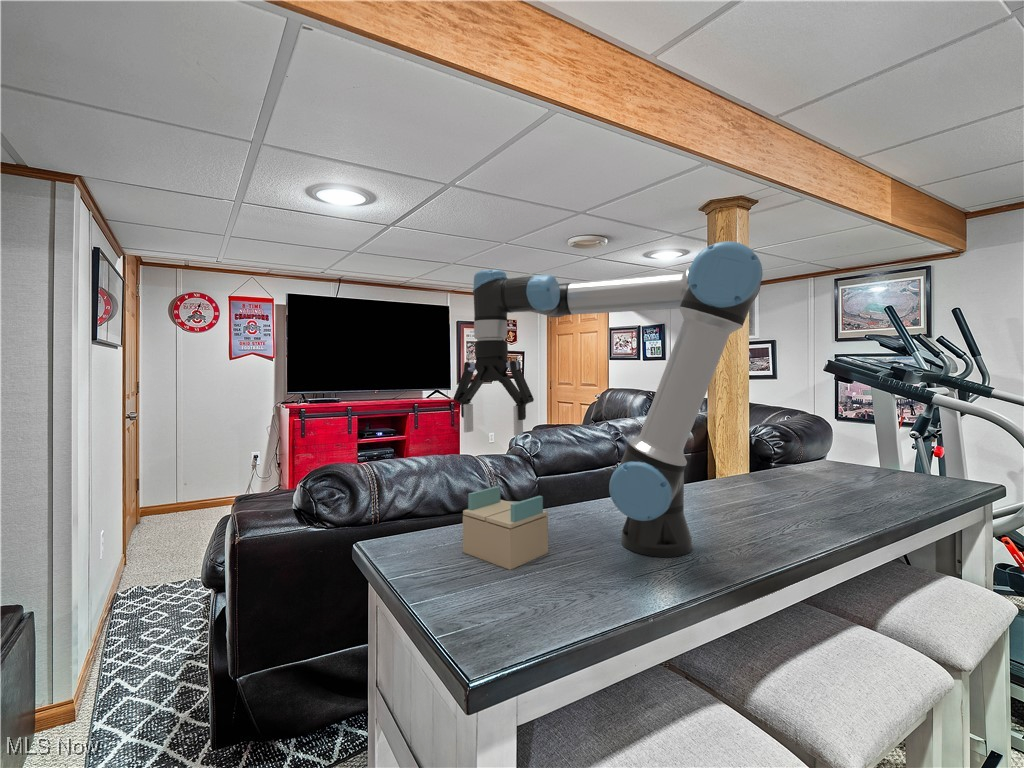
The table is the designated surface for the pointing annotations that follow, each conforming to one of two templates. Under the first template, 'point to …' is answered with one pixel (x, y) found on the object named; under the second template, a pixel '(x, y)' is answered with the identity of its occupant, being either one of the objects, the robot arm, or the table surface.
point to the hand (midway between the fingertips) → (492, 433)
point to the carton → (505, 541)
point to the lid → (486, 503)
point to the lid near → (520, 513)
